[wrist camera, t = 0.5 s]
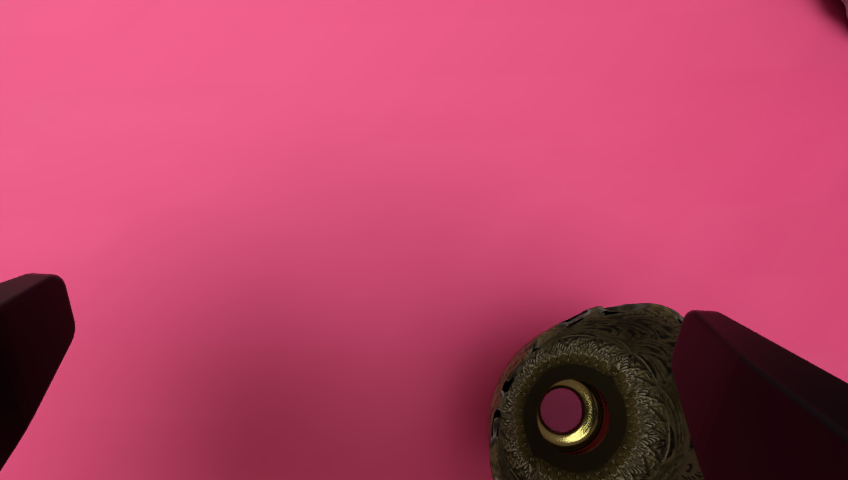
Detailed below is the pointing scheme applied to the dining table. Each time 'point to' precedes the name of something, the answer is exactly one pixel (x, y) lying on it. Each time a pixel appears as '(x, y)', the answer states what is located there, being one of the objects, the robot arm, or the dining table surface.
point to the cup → (596, 401)
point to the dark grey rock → (847, 2)
